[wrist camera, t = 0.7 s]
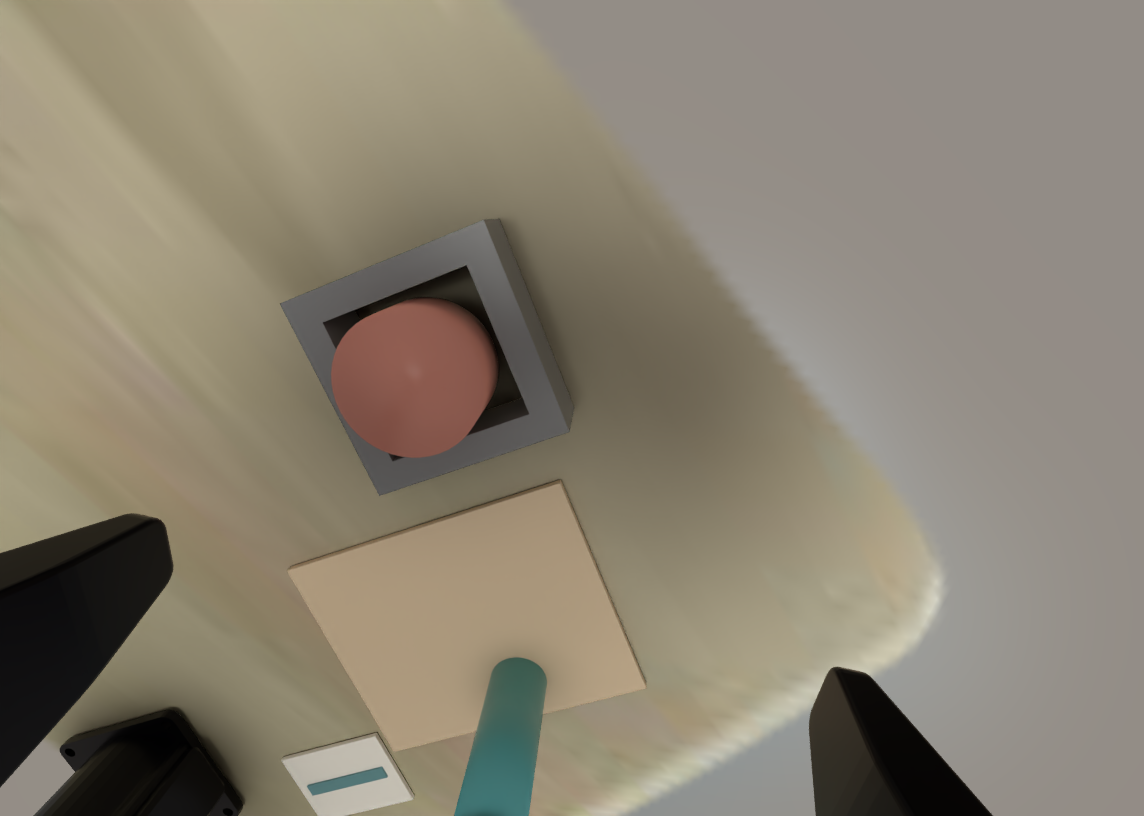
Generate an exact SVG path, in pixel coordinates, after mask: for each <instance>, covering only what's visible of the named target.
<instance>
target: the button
mask: <svg viewBox="0 0 1144 816" xmlns="http://www.w3.org/2000/svg"><path fill="white" fill-rule="evenodd" d="M498 375H499V363H498V356H497V351H496V348H495V345H494V343H493V340H492V338H491V336H490V334H489V333H488V331H487V330H486V328H485V327H484V326H483V324H482V323H481V322H480V321H479V320H478V319H477V318H476V317H475V316H474V315H473V314H472V313H470V312H469V311H467V310H466V309H465V308H463V307H461V306H459V305H457V304H456V303H453V302H450V301H448V300H444V299H440V298H433V297H418V298H412V299H408V300H405V301H402V302H400V303H398V304H395V305H393V306H391V307H388V308H386V309H384V310H381V311H379V312H377V313H374V314H372V315H370V316H368V317H366V318H364V319H362V320H361V321H359V322H358V323H356V324H355V325H354V326H353V327H352V328H351V329H350V330H348V332H347V333H346V334H345V335H344V337H343V338H342V340H341V341H340V343H339V345H338V347H337V349H336V352H335V354H334V358H333V362H332V370H331V383H332V389H333V394H334V397H335V401H336V403H337V406H338V408H339V410H340V412H341V414H342V415H343V417H344V419H345V420H346V422H347V423H348V424H349V426H350V427H351V428H352V429H353V430H354V431H355V432H356V433H357V434H358V435H359V436H360V437H361V438H362V439H364V440H365V441H366V442H368V443H369V444H371V445H372V446H374V447H376V448H378V449H380V450H382V451H384V452H387V453H390V454H393V455H397V456H401V457H410V458H421V457H428V456H433V455H436V454H440V453H442V452H444V451H447V450H449V449H450V448H452V447H454V446H455V445H457V444H458V443H459V442H460V441H462V440H463V439H464V437H465V436H466V435H467V434H468V433H469V432H470V430H471V429H472V427H473V426H474V425H475V423H476V421H477V420H478V418H479V417H480V415H481V414H482V412H483V411H484V409H485V408H486V406H487V405H488V403H489V401H490V400H491V398H492V396H493V394H494V392H495V389H496V386H497V381H498Z"/></svg>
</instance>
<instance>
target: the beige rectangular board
mask: <svg viewBox="0 0 1144 816" xmlns="http://www.w3.org/2000/svg"><path fill="white" fill-rule="evenodd" d="M287 572H288V574H289V575H290V577H291V579H292V581H293V582H294V584H295V586H296V587H297V589H298V591H299V592H300V594H301V596H302V597H303V599H304V601H305V602H306V604H307V606H308V608H309V609H310V611H311V613H312V614H313V616H314V618H315V619H316V621H317V623H318V624H319V626H320V628H321V630H322V631H323V633H324V635H325V636H326V638H327V640H328V641H329V643H330V645H331V646H332V648H333V650H334V652H335V653H336V655H337V657H338V658H339V660H340V662H341V663H342V665H343V667H344V668H345V670H346V672H347V674H348V675H349V677H350V679H351V680H352V682H353V684H354V685H355V687H356V689H357V690H358V692H359V694H360V696H361V697H362V699H363V701H364V702H365V704H366V706H367V707H368V709H369V711H370V712H371V714H372V716H373V717H374V719H375V721H376V723H377V724H378V726H379V728H380V729H381V731H382V733H383V734H384V736H385V738H386V739H387V741H388V743H389V745H390V746H391V748H392V750H393V751H394V752H396V751H400V750H404V749H408V748H412V747H416V746H420V745H424V744H428V743H432V742H436V741H440V740H444V739H448V738H452V737H456V736H460V735H464V734H468V733H472V732H476V730H477V727H478V723H479V719H480V715H481V711H482V708H483V704H484V700H485V696H486V692H487V689H488V685H489V681H490V677H491V673H492V671H493V669H494V667H495V666H496V665H497V664H498V663H499V662H501V661H503V660H505V659H508V658H514V657H519V658H525V659H528V660H531V661H533V662H535V663H536V664H537V665H539V666H540V667H541V668H542V670H543V671H544V673H545V675H546V678H547V687H546V694H545V701H544V709H543V714H547V713H551V712H555V711H559V710H563V709H567V708H571V707H575V706H579V705H583V704H587V703H591V702H595V701H599V700H603V699H607V698H610V697H614V696H618V695H622V694H626V693H630V692H634V691H638V690H642V689H646V682H645V679H644V677H643V674H642V672H641V670H640V667H639V665H638V663H637V660H636V658H635V655H634V653H633V651H632V648H631V646H630V643H629V641H628V639H627V636H626V634H625V632H624V629H623V627H622V624H621V622H620V620H619V617H618V615H617V612H616V610H615V608H614V605H613V603H612V601H611V598H610V596H609V593H608V591H607V589H606V586H605V584H604V581H603V579H602V577H601V574H600V572H599V570H598V567H597V565H596V562H595V560H594V558H593V555H592V553H591V550H590V548H589V546H588V543H587V541H586V539H585V536H584V534H583V531H582V529H581V527H580V524H579V522H578V519H577V517H576V515H575V512H574V510H573V508H572V505H571V503H570V500H569V498H568V496H567V493H566V491H565V488H564V486H563V484H562V481H561V480H558V481H555V482H552V483H549V484H546V485H542V486H539V487H536V488H533V489H530V490H527V491H524V492H521V493H518V494H515V495H511V496H508V497H505V498H502V499H499V500H496V501H493V502H490V503H487V504H483V505H480V506H477V507H474V508H471V509H468V510H465V511H462V512H459V513H456V514H452V515H449V516H446V517H443V518H440V519H437V520H434V521H431V522H428V523H425V524H421V525H418V526H415V527H412V528H409V529H406V530H403V531H400V532H397V533H394V534H390V535H387V536H384V537H381V538H378V539H375V540H372V541H369V542H366V543H363V544H359V545H356V546H353V547H350V548H347V549H344V550H341V551H338V552H335V553H332V554H328V555H325V556H322V557H319V558H316V559H313V560H310V561H307V562H304V563H301V564H297V565H294V566H291V567H290V568H289V569H288V570H287Z"/></svg>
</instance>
